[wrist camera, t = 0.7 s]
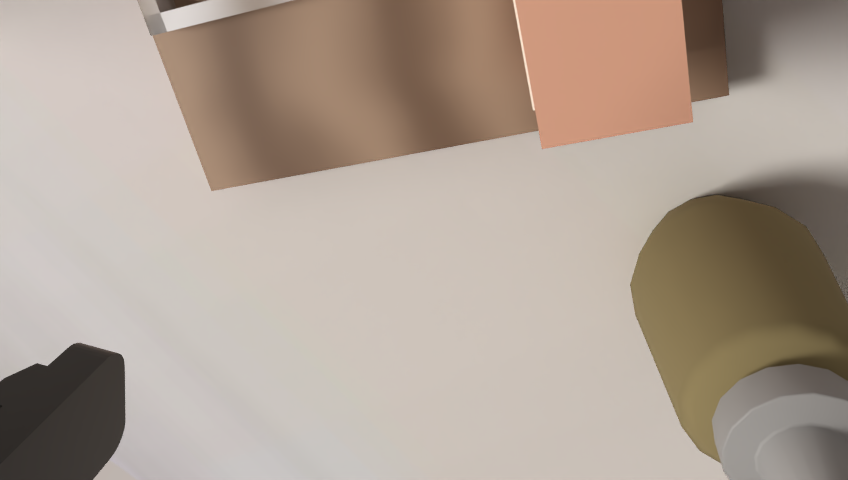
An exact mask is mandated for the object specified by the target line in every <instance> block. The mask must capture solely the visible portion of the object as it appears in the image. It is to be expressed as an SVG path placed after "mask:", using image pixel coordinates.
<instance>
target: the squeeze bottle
mask: <svg viewBox="0 0 848 480" xmlns="http://www.w3.org/2000/svg"><path fill="white" fill-rule="evenodd" d="M630 286H631V292H632V298H633V303H634V309H635V315H636V317H637V320H638V322H639V325H640V327H641V329H642V332H643V334H644V337H645V339H646V341H647V344H648V346H649V349H650V351H651V354H652V356H653V358H654V361H655V363H656V366H657V368H658V370H659V373H660V375H661V378H662V380H663V383H664V385H665V387H666V390H667V392H668V395H669V397H670V400H671V402H672V404H673V407H674V409H675V412H676V414H677V416H678V419H679V421H680V424H681V426H682V428H683V429H684V430H685V432H686V433H687V434H688V436H689V437H690V438H691V440H692V441H693V442H694V444H695V445H696V446H697V448H698V449H699V450H700V451H701V452H703V453H704V454H706V455H708V456H709V457H711V458H713V459H715V460H716V461H718V462H720V463H721V464H722V468H723V471H724V473H725V474H726V476H727V477H728V478H729V480H848V303H847V301H846V299H845V297H844V295H843V293H842V291H841V289H840V287H839V285H838V283H837V281H836V279H835V277H834V275H833V273H832V271H831V269H830V267H829V265H828V262H827V260H826V258H825V256H824V255H823V253H822V251H821V250H820V248H819V246H818V245H817V243H816V242H815V240H814V238H813V237H812V235H811V234H810V232H809V230H808V229H807V227H806V226H804V225H803V224H801V223H800V222H798V221H796V220H795V219H793V218H792V217H790V216H788V215H787V214H785V213H784V212H782V211H780V210H779V209H777V208H776V207H772V206H768V205H764V204H760V203H756V202H751V201H747V200H743V199H738V198H732V197H726V196H721V195H713V196H707V197H701V198H696V199H691V200H689V201H687V202H685V203H683V204H682V205H680V206H678V207H676V208H675V209H673V210H671V211H669V212H668V213H667V214H666V215H665V217H664V218H663V219H662V220H661V221H660V223H659V224H658V225H657V226H656V227H655V229H654V230H653V231H652V233H651V235H650V236H649V238H648V240H647V242H646V243H645V245H644V247H643V248H642V250H641V252H640V254H639V257H638V260H637V264H636V267H635V270H634V274H633V277H632V281H631V284H630Z"/></svg>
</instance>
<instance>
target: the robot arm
mask: <svg viewBox="0 0 848 480" xmlns="http://www.w3.org/2000/svg"><path fill="white" fill-rule="evenodd" d="M124 427H125V365H124V359H123V357H122V355H121V354H118V353H115V352H111V351H108V350H104V349H100V348H97V347H93V346H89V345H86V344H82V343H76V344H73V345H71V346H70V347H69V348H67V349H66V350H65V351H64V352H63V353H62V354H61V355H60V356H58V357H57V358H56V359H55V360H54V361H53V362H52V363H51V364H49V365H48V366H45V365H41V364H38V363H37V364H35V365H32V366H30V367H28V368H26V369H24V370H22V371H19V372H17V373H15V374H13V375H11V376H8V377H6V378H4V379H3V380H2V381H1V382H0V480H93V479H94V477H95V476H96V475H97V474H98V472H99V471H100V470H101V469H102V468H103V467H104V465H105V464H106V463H107V462H108V461H109V459H110V458H111V457H112V455H113V454H114V452H115V451H116V449H117V447H118V445H119V443H120V440H121V438H122V435H123V431H124Z"/></svg>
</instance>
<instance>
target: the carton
mask: <svg viewBox="0 0 848 480" xmlns="http://www.w3.org/2000/svg"><path fill="white" fill-rule="evenodd" d="M513 3H514V9H515V14H516V20H517V25H518V31H519V36H520V42H521V47H522V53H523V58H524V64H525V69H526V75H527V80H528V86H529V91H530V97H531V102H532V108H533V110H535V113H536V118H537V124H538V129H539V135H540V140H541V146H542V149H545V148H550V147H556V146H561V145H567V144H573V143H578V142H584V141H589V140H595V139H601V138H606V137H612V136H617V135H623V134H629V133H634V132H640V131H645V130H651V129H657V128H662V127H668V126H673V125H679V124H685V123H690V122H693V117H692V106H691V95H690V85H689V74H688V63H687V53H686V42H685V31H684V21H683V10H682V0H513Z"/></svg>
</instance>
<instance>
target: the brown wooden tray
mask: <svg viewBox="0 0 848 480" xmlns="http://www.w3.org/2000/svg"><path fill="white" fill-rule="evenodd" d="M137 1H138V3H139V6H140V9H141V11H142V14H143V16H144V19H145V22H146V24H147V27H148V30H149V32H150V35H151V36H153V38H154V40H155V43H156V46H157V48H158V51H159V53H160V56H161V59H162V61H163V64H164V67H165V69H166V72H167V75H168V77H169V80H170V82H171V85H172V88H173V90H174V93H175V96H176V98H177V101H178V104H179V106H180V109H181V112H182V114H183V117H184V119H185V122H186V125H187V127H188V130H189V133H190V135H191V138H192V141H193V143H194V146H195V148H196V151H197V154H198V156H199V159H200V162H201V164H202V167H203V170H204V172H205V175H206V177H207V180H208V183H209V185H210V188H211V191H214V190H220V189H225V188H230V187H236V186H241V185H247V184H252V183H257V182H263V181H268V180H274V179H279V178H284V177H290V176H295V175H301V174H306V173H311V172H317V171H322V170H328V169H333V168H338V167H344V166H349V165H355V164H360V163H365V162H371V161H376V160H382V159H387V158H392V157H398V156H403V155H409V154H414V153H419V152H425V151H430V150H436V149H441V148H447V147H452V146H457V145H463V144H468V143H474V142H479V141H484V140H490V139H495V138H501V137H506V136H511V135H517V134H522V133H528V132H533V131H538V130H539V129H538V124H537V118H536V113H535V110H533V108H532V102H531V97H530V91H529V86H528V80H527V75H526V69H525V64H524V58H523V53H522V47H521V42H520V36H519V31H518V25H517V20H516V14H515V9H514V3H513V0H137ZM682 10H683V21H684V31H685V42H686V53H687V63H688V74H689V85H690V95H691V102H695V101H700V100H706V99H711V98H717V97H722V96H727V95H729V88H728V74H727V61H726V47H725V33H724V19H723V5H722V0H682Z"/></svg>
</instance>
